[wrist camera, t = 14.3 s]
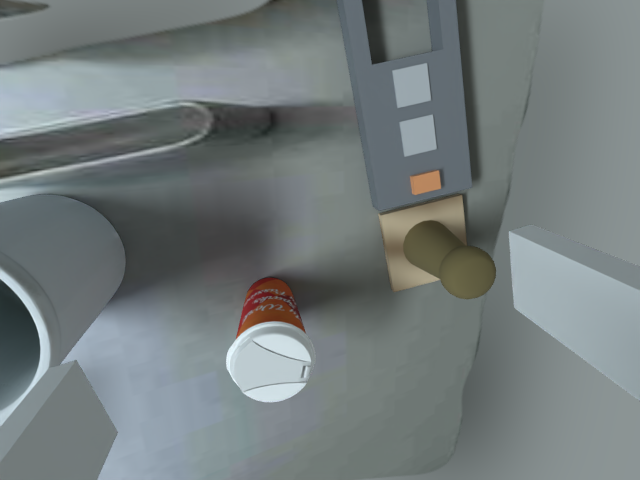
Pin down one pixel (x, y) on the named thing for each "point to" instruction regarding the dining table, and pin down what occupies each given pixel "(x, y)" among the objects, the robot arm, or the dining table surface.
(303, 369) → the paper cup
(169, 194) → the dining table surface
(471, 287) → the olive knobbed peg
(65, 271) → the utensil holder
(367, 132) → the power strip
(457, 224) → the oak board
